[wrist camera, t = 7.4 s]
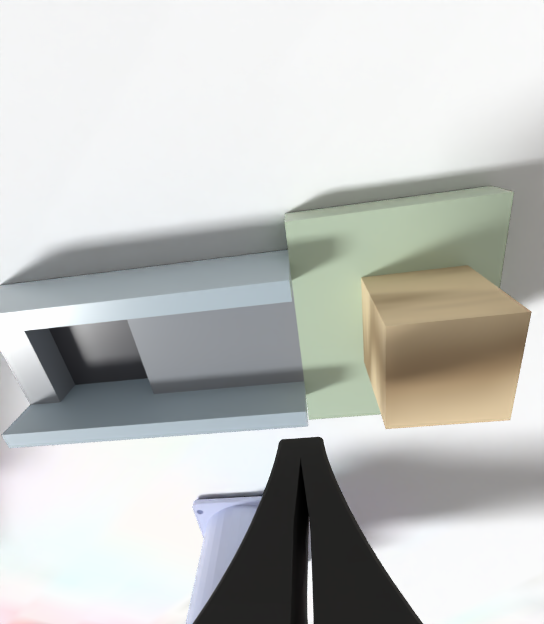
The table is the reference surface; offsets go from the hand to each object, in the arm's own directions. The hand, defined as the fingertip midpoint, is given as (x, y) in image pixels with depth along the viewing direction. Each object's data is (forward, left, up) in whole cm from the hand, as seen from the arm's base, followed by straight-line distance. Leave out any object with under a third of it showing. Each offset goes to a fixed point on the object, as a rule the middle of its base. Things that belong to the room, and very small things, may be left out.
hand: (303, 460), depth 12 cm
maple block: (0, -6, -8) cm, 10 cm away
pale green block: (0, +3, -10) cm, 11 cm away
